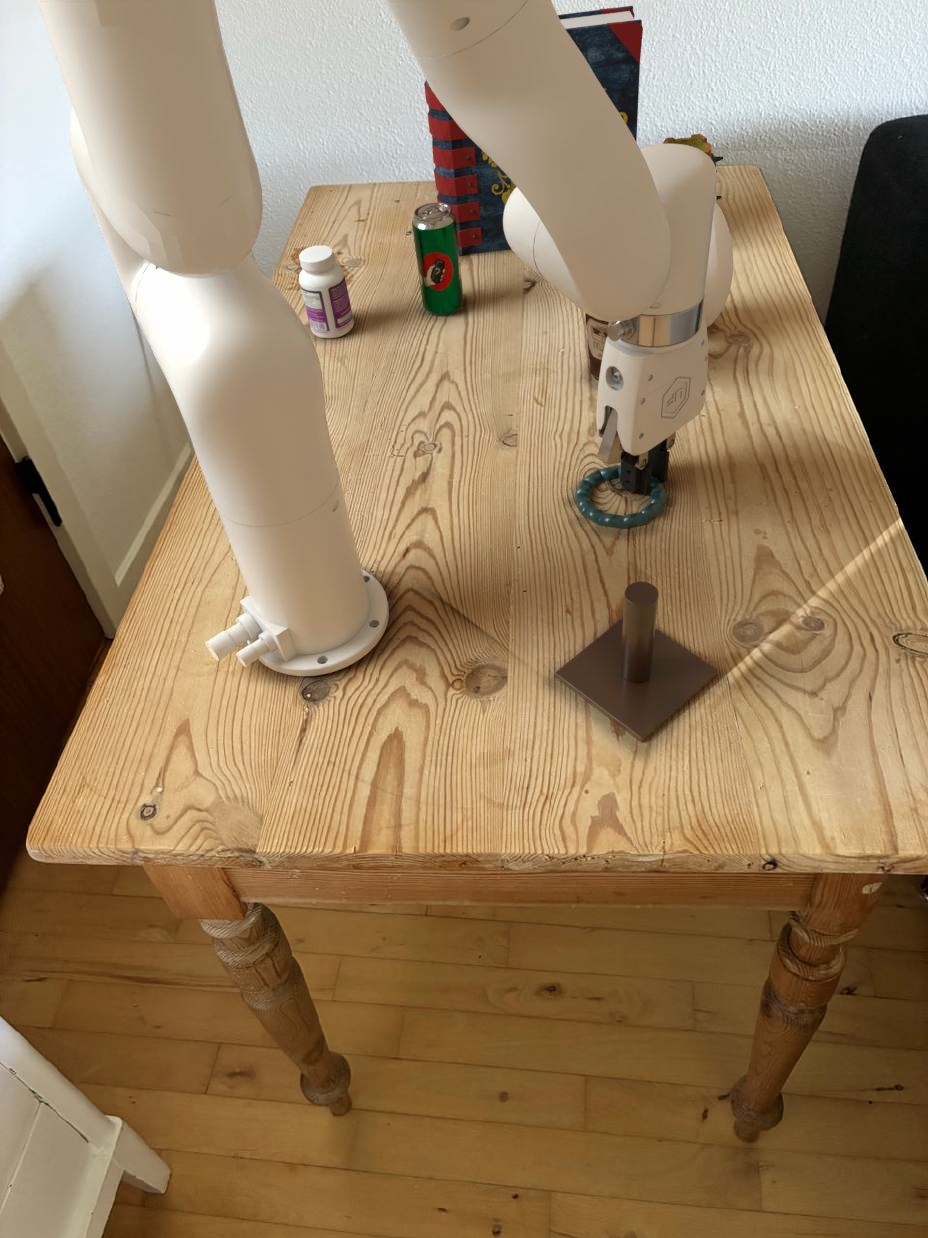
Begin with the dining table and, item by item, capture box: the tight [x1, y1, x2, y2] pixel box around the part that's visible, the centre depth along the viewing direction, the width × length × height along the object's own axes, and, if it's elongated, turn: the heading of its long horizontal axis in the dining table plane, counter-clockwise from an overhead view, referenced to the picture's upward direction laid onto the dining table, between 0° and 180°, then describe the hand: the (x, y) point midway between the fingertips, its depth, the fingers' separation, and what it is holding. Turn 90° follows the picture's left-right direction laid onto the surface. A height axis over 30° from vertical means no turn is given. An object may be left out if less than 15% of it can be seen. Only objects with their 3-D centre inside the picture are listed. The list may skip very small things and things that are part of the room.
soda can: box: [411, 201, 465, 317], centre depth 111 cm, size 5×5×12 cm
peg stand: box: [554, 581, 719, 743], centre depth 71 cm, size 9×9×10 cm
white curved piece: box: [703, 194, 734, 328], centre depth 101 cm, size 8×8×18 cm
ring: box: [573, 464, 668, 530], centre depth 88 cm, size 8×8×1 cm
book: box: [423, 5, 644, 257], centre depth 116 cm, size 25×7×25 cm, turn 94°
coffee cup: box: [584, 312, 609, 382], centre depth 98 cm, size 9×8×13 cm
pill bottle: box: [298, 244, 355, 339], centre depth 111 cm, size 5×5×10 cm
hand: (643, 484), depth 90 cm, fingers closed on ring, 1 cm apart
